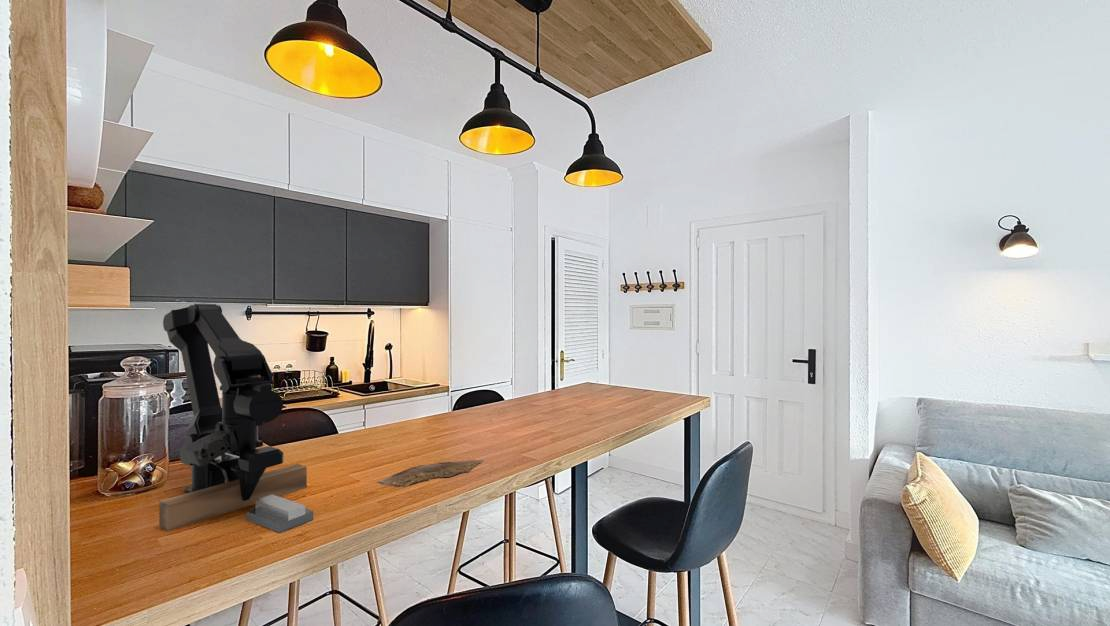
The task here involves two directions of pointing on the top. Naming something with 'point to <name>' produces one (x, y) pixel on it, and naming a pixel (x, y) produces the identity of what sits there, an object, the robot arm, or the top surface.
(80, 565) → the top surface
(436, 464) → the wooden fragment
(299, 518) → the grey flat stepped block
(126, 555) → the top surface
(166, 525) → the walnut bar
